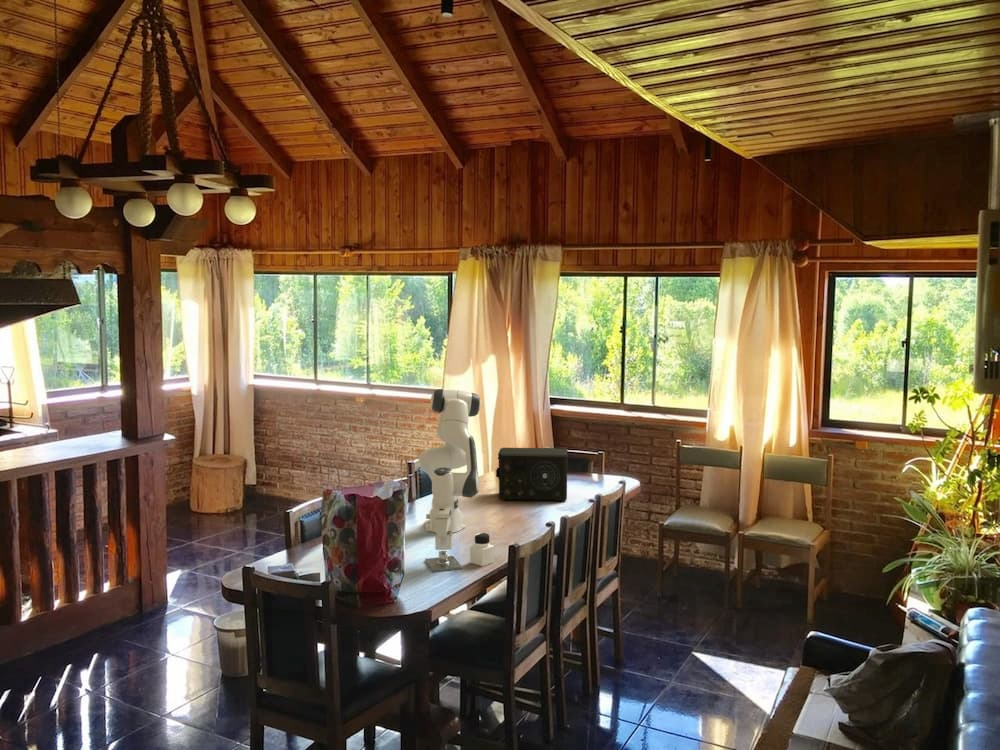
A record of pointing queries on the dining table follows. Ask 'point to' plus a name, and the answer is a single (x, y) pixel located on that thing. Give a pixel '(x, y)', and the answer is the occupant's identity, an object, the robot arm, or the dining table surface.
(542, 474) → the vintage radio
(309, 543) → the dining table surface
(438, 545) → the cream brown-topped cube
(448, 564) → the duct base
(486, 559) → the medicine bottle
